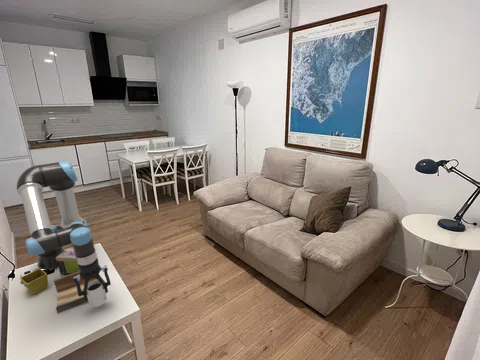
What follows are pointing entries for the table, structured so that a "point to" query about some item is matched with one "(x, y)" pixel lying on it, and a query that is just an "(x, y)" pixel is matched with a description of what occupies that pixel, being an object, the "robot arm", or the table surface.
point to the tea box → (67, 262)
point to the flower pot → (35, 281)
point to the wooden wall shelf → (69, 292)
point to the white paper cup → (96, 293)
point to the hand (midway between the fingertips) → (98, 300)
